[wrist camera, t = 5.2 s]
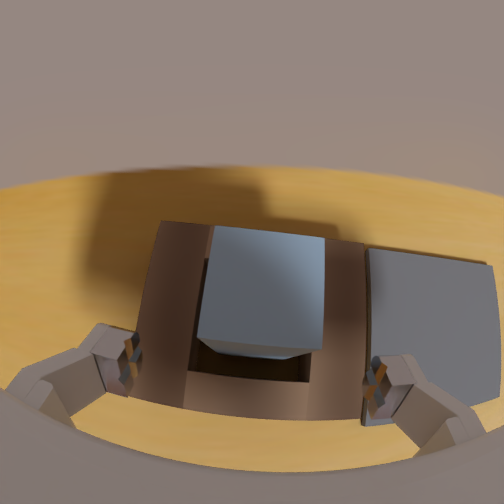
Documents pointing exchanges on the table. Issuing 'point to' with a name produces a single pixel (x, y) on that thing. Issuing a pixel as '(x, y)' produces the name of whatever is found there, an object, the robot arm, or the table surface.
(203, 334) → the peg
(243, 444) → the table surface
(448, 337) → the rubber mat
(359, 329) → the pocket holder
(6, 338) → the table surface
